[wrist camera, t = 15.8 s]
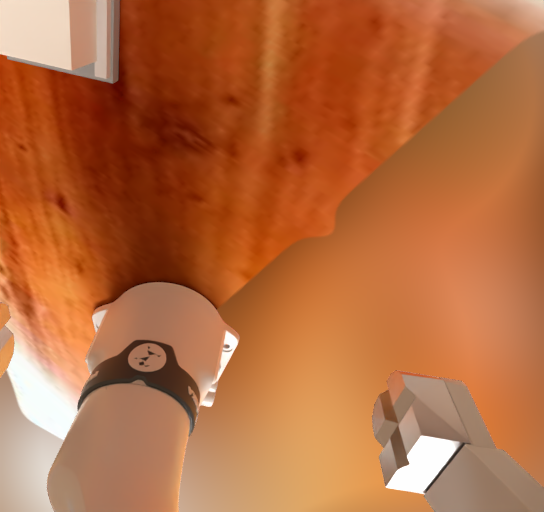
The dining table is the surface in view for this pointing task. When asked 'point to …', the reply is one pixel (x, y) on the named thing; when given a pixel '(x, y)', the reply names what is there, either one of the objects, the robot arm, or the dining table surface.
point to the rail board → (63, 35)
